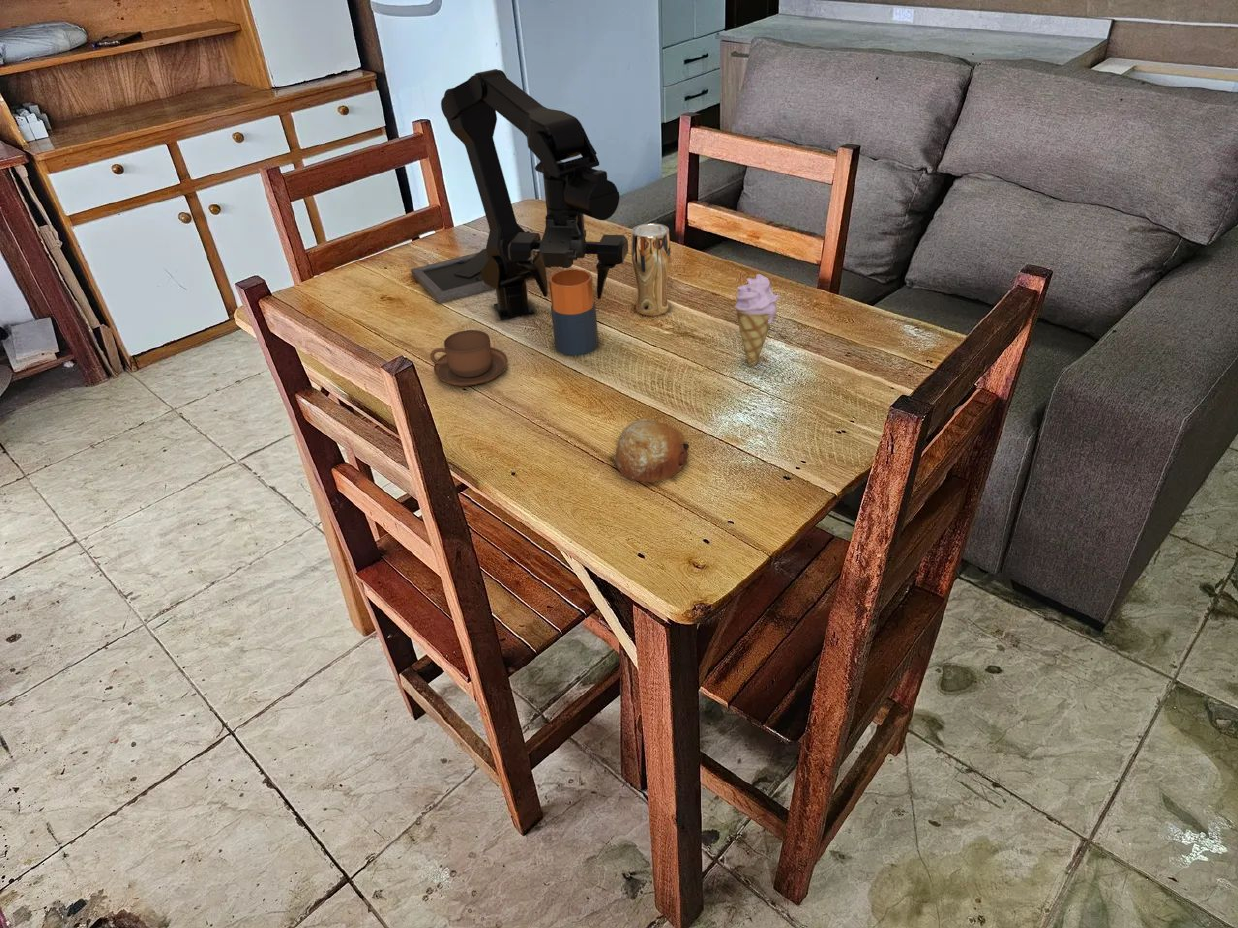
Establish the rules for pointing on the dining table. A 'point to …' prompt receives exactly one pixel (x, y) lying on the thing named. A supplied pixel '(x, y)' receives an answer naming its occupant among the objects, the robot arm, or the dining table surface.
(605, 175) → the robot arm
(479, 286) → the picture frame
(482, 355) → the cup and saucer
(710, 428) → the dining table surface
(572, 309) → the cup
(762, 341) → the ice cream cone
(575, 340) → the jar
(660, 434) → the bread roll
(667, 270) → the beer glass
